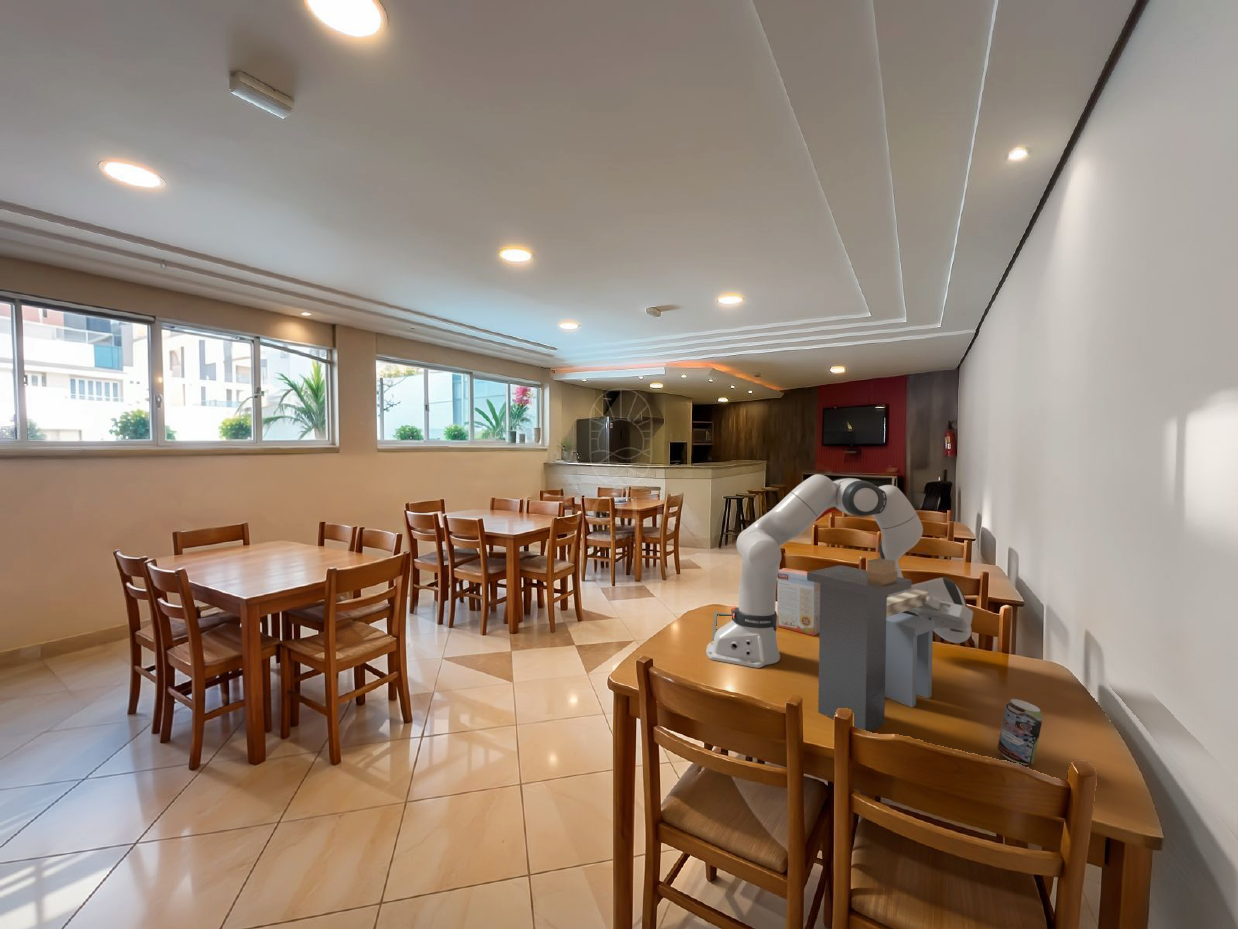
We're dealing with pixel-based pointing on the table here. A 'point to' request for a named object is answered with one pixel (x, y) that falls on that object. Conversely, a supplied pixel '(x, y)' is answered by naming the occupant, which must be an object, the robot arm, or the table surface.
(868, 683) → the steel pedestal
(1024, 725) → the beverage can
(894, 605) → the birch slat
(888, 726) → the table surface
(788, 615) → the cracker box
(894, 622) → the slate trestle
